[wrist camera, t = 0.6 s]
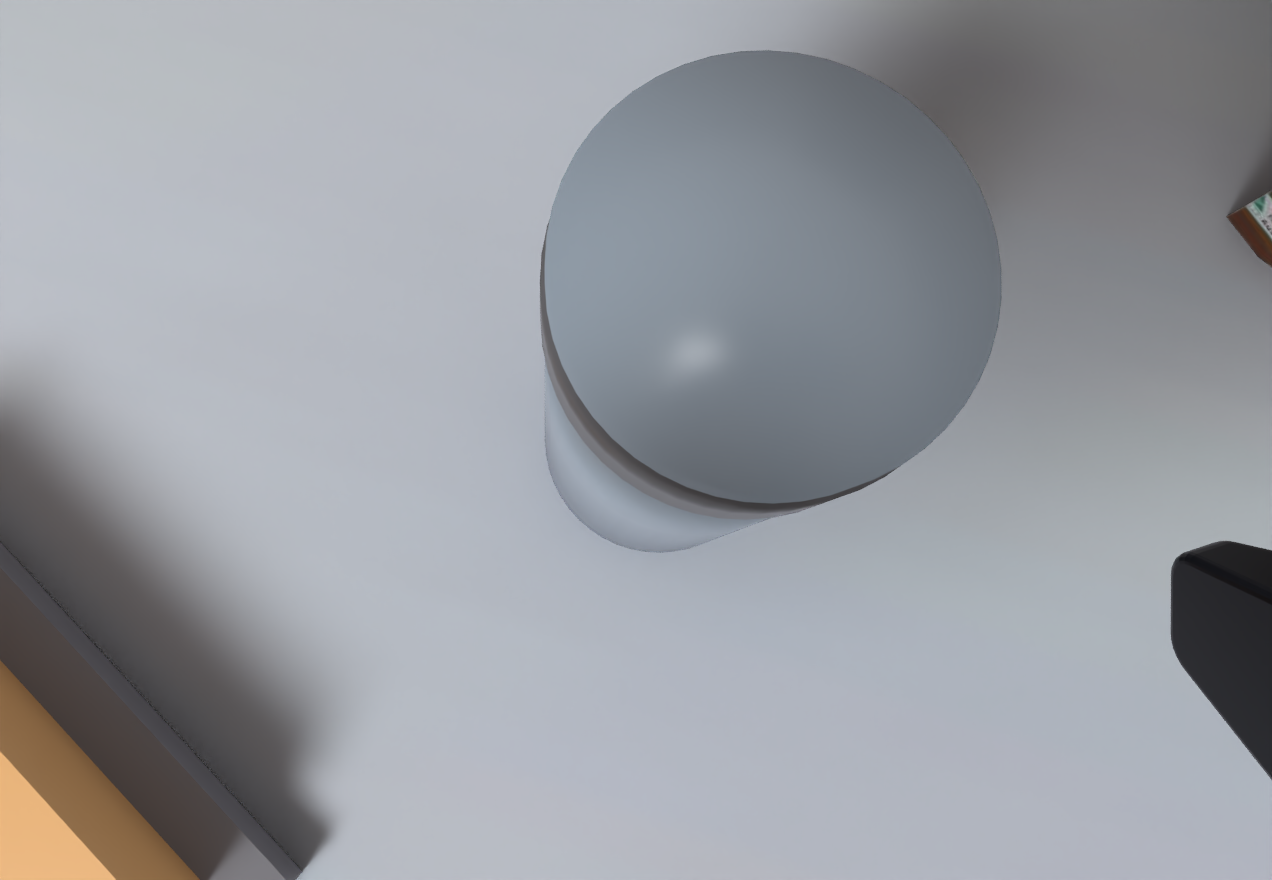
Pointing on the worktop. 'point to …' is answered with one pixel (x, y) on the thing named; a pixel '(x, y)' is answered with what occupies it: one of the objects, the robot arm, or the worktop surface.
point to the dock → (103, 767)
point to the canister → (756, 297)
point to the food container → (1256, 225)
